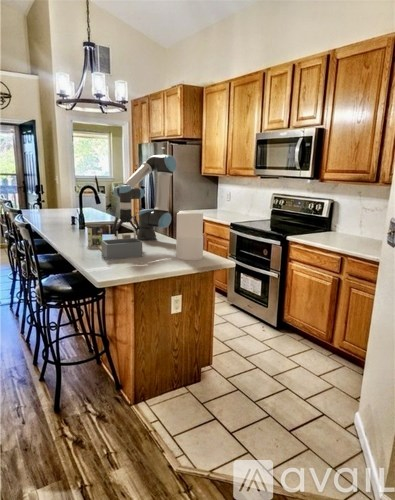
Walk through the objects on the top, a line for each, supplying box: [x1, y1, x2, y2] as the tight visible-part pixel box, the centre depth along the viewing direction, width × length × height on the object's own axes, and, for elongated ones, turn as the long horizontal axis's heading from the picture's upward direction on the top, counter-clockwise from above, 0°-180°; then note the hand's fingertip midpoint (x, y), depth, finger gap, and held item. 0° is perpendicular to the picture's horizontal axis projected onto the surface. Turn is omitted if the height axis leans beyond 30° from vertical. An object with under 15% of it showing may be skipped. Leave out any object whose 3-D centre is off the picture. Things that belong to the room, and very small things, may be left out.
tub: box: [101, 237, 143, 261], centre depth 221 cm, size 22×14×10 cm, turn 118°
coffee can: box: [86, 224, 104, 247], centre depth 251 cm, size 10×10×14 cm
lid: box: [97, 233, 132, 252], centre depth 239 cm, size 23×15×11 cm, turn 118°
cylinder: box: [175, 211, 205, 261], centre depth 225 cm, size 17×17×28 cm
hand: (126, 240), depth 241 cm, fingers open, 12 cm apart
